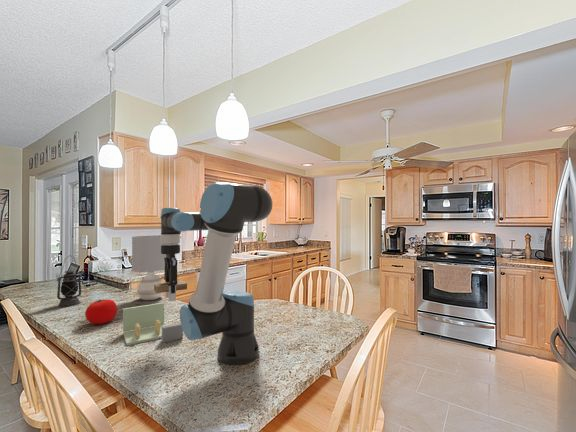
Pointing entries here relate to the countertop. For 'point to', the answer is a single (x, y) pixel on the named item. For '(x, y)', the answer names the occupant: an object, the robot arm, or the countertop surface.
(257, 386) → the countertop surface
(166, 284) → the shelf board
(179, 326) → the block
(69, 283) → the lantern
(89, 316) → the tomato
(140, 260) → the lamp
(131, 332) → the cabinet
